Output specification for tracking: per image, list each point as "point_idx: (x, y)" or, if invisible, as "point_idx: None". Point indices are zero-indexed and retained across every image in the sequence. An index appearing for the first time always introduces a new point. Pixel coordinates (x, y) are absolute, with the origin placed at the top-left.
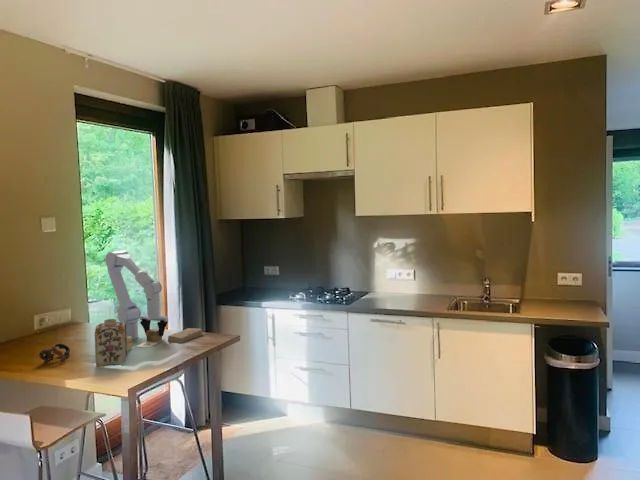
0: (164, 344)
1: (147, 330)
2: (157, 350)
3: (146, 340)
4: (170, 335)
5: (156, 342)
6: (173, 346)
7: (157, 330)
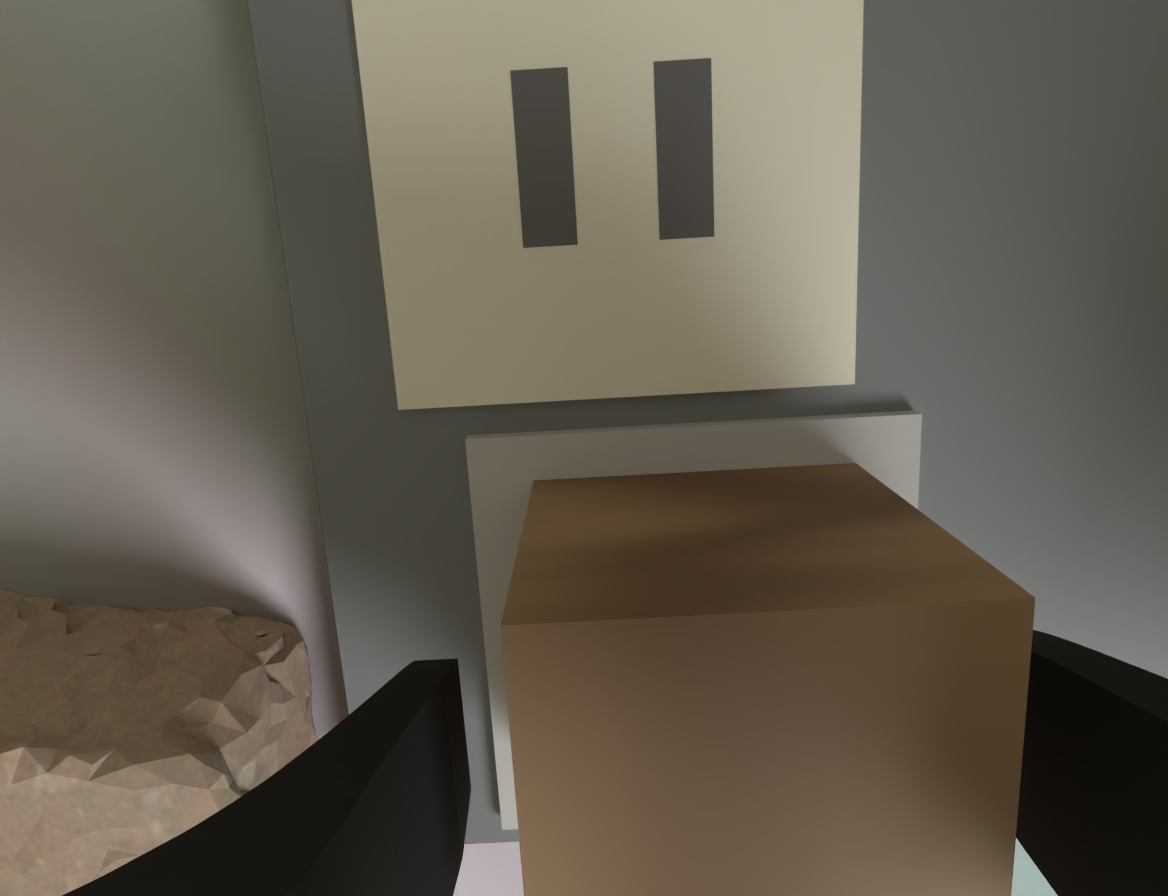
0: None
1: (1014, 670)
2: (115, 16)
3: None
4: (135, 816)
5: (474, 442)
6: (9, 496)
7: (532, 801)
